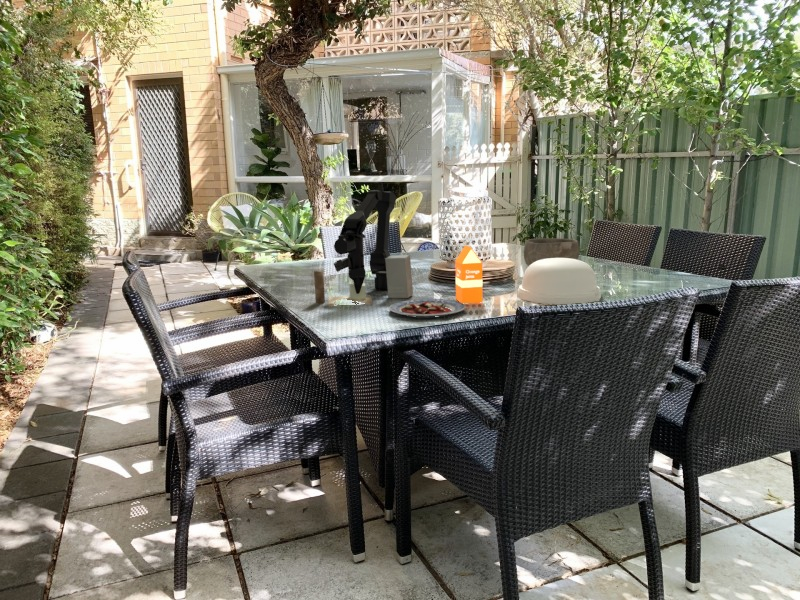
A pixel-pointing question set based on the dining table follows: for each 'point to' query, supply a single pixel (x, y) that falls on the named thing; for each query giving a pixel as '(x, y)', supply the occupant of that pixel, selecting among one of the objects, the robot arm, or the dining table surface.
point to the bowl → (550, 249)
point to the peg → (319, 287)
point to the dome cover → (559, 282)
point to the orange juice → (468, 277)
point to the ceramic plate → (427, 307)
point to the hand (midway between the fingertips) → (357, 291)
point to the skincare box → (399, 276)
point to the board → (333, 299)
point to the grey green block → (357, 296)
